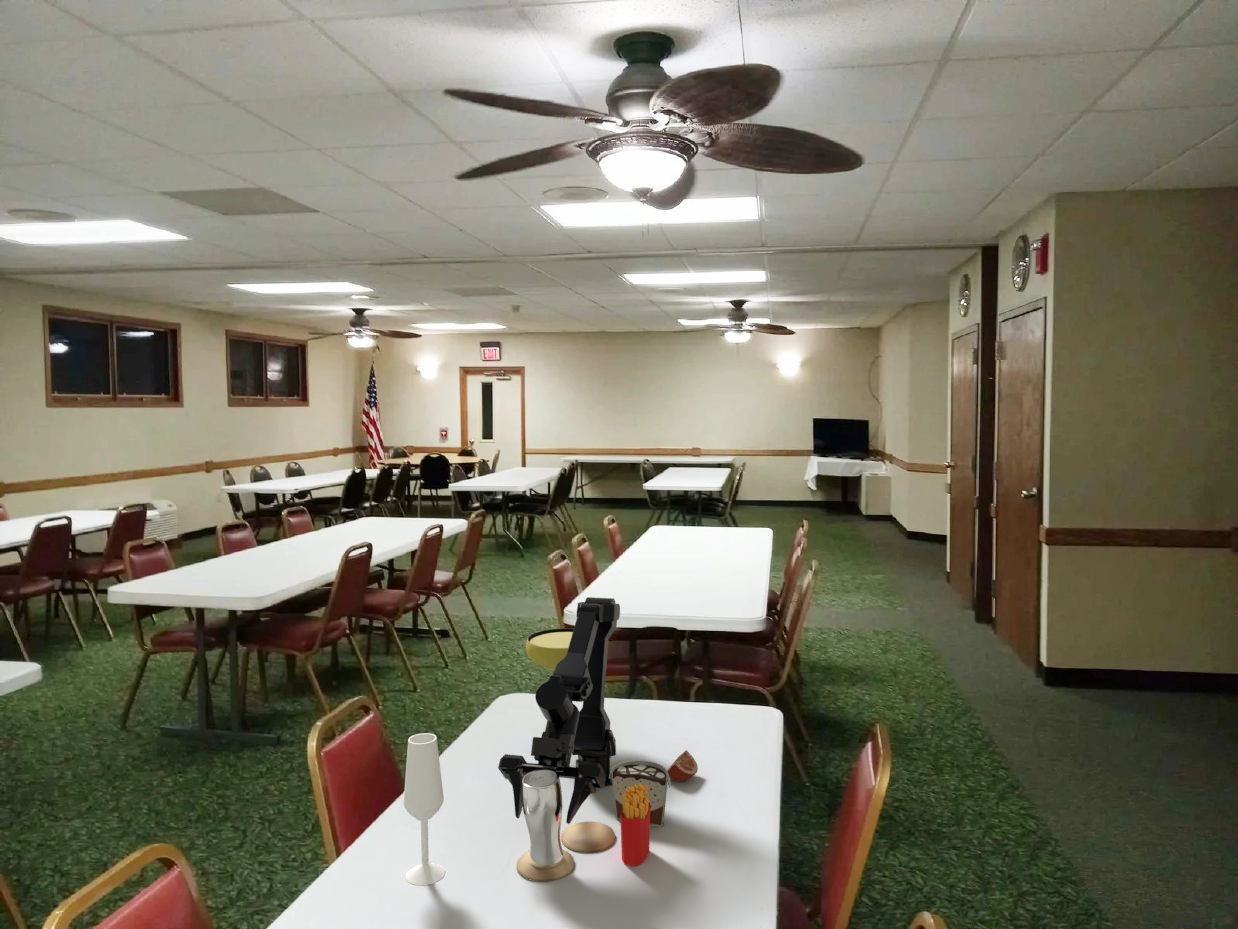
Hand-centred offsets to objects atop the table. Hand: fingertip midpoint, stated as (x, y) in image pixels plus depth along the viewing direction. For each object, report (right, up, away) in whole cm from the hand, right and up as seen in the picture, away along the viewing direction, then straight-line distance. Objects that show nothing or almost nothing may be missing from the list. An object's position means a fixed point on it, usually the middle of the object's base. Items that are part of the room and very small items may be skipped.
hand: (542, 820), depth 144 cm
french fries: (+16, -9, +5) cm, 19 cm away
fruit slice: (+27, -7, +36) cm, 45 cm away
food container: (+18, -8, +20) cm, 28 cm away
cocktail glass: (0, -5, +58) cm, 58 cm away
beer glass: (+1, -8, +2) cm, 8 cm away
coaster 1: (0, -9, +2) cm, 9 cm away
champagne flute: (-20, -9, -1) cm, 22 cm away
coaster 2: (+8, -8, +11) cm, 16 cm away
